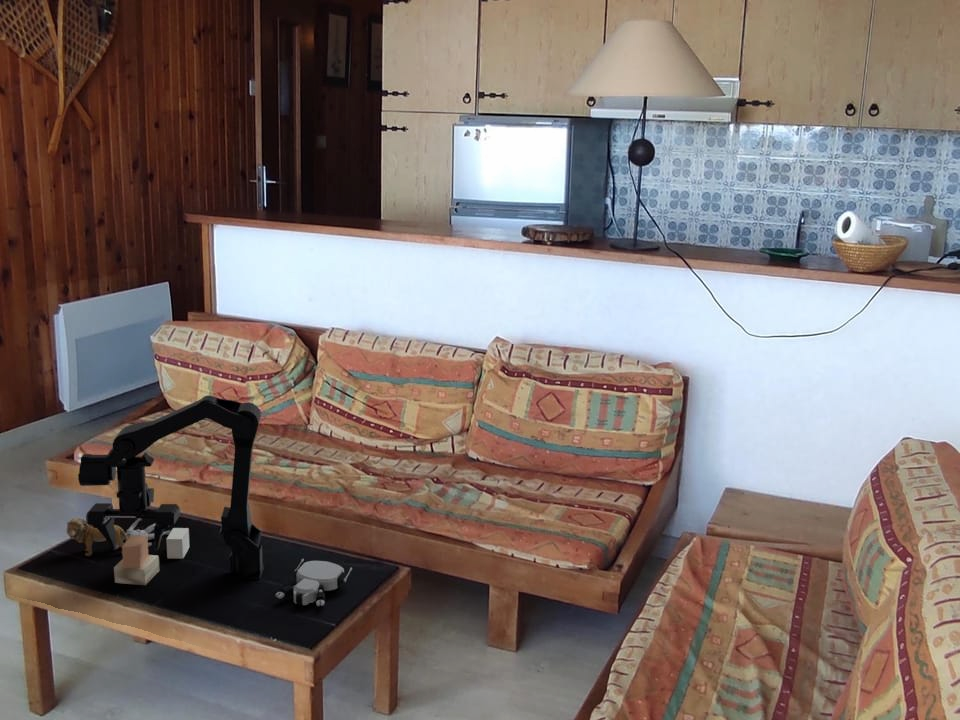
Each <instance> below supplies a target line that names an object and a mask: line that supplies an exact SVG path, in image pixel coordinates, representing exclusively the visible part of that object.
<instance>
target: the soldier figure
mask: <svg viewBox="0 0 960 720" xmlns="http://www.w3.org/2000/svg"><path fill="white" fill-rule="evenodd" d="M140 521H142V518H136V519H135V521H134V522H133V523H132V524H131V525H130V527H128V529H126V531H125V534H126V536H127V539H128V538H129V537H130V536H131V535H147V538H148V541H150V540H154V532H153V531H154V526H155V525H156V523H153V524H151V525H148V526H147V527H146V528H145V529H141V530H140V528H138V529H135V528H136V526H137V525H138V523H139V522H140ZM152 532H153V533H152ZM170 532H171V530H170V529H169V530H166V531H164V532H163V536H164V535H169V534H170ZM120 538H121V540H122V542H123V541H125V539H124V537H123V535H122V534H121V536H120ZM152 545H153V544H152V542H148V547H150V546H152Z"/></svg>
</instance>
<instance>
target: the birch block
mask: <svg viewBox="0 0 960 720" xmlns="http://www.w3.org/2000/svg"><path fill="white" fill-rule="evenodd" d="M159 572H160V557H159V555H157V554H156V555H155V554H154V555H153V554H148V557H147V559H146V560H145V562H144V563H143V565H142V566H141V568H123V558H122V559H121V560H120V561H119V562H118V563H117V564H116V565H115V566H114V567H113V573H114V583H116V584H123V585H124V584H127V585H136V586H137V585H138V586H146V585H147V584H149V582H150V581H151V580H152V579H153V578H154V577H155V576H156V575H157V574H158V573H159Z"/></svg>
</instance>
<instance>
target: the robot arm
mask: <svg viewBox="0 0 960 720" xmlns="http://www.w3.org/2000/svg"><path fill="white" fill-rule="evenodd" d="M261 412H262V411H261V409H260V408H259V407H258V405H256V404H254V403H252V402H240V401H237V400H232V399H225V398H219V397H217V396H214V395H210V394H209V395H204V396H203V397H202V398H200V399H199V400H196V401H194V402H192V403H190V404H187V405H185V406H183V407H180V408H178V409H176V410H174V411H172V412H169V413H167V414H165V415H163V416H161V417H158V418H156V419H154V420H151V421H144V422H142V421H141V422H138V423H133V424H130V425H127V426H124V427H123V428H121V430H119V432H118V433H117V435H116V437H114V440H113V442H112V448H111V449H110V450H109V452H108V453H107V454H91V453H84V454H82V455H81V457H80V464H79V467H78V468H79V472H78V474H77V477H78V484H79V485H80V486H81V487H82V486H83V487H86V486H87V487H90V486H91V487H92V486H94V487H95V486H97V487H98V486H110V484H111V481H115V480H116V479H117V492H116V498H117V499H118V508H114V506H113V504H112V503H111V502H110V503H109V502H108V503H107V502H105V503H103V502H102V503H101V502H100V503H99V502H96V503H95V504H93V506H91V508H90V509H89V511H87V512H86V516H85V521H86V523H87V524H88V525H93V528H97V529H98V530H99V531H100V532H101V533H102V535H103V536H104V537H105V539H106V540H105V541H106V542H107V543H108V545H109V547H110V548H111V549H112V551H116V550H117V549H116V536H115V529H114V525H115V519H138V518H141V519H154V522H155V524H156V525H155V526H154V529H153V531H154V532H153V533H154V539H153V540H154V542H153V543H154V544H153V545H154V550H155V551H156V552H157V551H158V550H159V548H160V546H161V542H162V538H163V536H164V535H163V532H165V530H166V529H168V528H170V526H174V525H175V524H176V522H177V521H178V519H179V518H180V515H181V509H180V506H179V505H178V504H177V503H161V504H160V505H159V507H158V508H157V509H154V508H153V509H150V508H149V507H150V506H151V505H152V503H154V501H155V499H154V498H155V497H154V496H155V487H154V488H153V487H148V483H146V467H147V468H151V467H152V465H153V463H154V461H155V458H154V457H152V456H150V455H149V454H148V453H147V452H144V451H146V450H147V449H148V448H150V447H151V446H152V445H153V444H154V443H156V442H158V441H160V440H161V439H162V438H166V437H167V436H169V435H173V434H174V433H176V432H179V431H180V430H183V429H185V428H188V427H190V426H191V425H194V424H197V423H199V422H200V421H202V420H205V419H208V420H211V421H213V422H215V423H217V424H219V425H220V426H222V427H224V428H227V429H230V430H231V434H232V435H231V436H232V441H233V445H234V456H233V457H234V459H233V470H232V484H231V496H230V507H228V506H224V507H223V510H222V513H221V516H220V522H221V523H220V524H221V527H220V531H219V535H220V536H221V535H222V536H221V537H222V540H223V543H225V544H226V545H227V546H229V548H230V550H231V553H230V554H229V557H228V559H229V573H230V579H231V580H259V579H261V577H262V574H263V571H264V568H265V564H264V563H263V545H262V544H260V541H261V538H262V530H261V529H259V528H258V527H257V526H255V525H254V524H253V523H252V522H253V521H252V513H251V508H250V504H249V499H250V485H251V474H252V473H251V472H252V460H253V459H252V458H253V448H254V447H253V446H254V443H255V439H256V437H257V436H256V435H257V432H258V428H259V424H260V422H261V417H262V413H261ZM141 453H143V454H142V455H141V456H139V455H140V454H141ZM116 475H117V476H116ZM116 477H117V478H116ZM148 508H149V509H148Z"/></svg>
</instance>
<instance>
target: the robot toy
mask: <svg viewBox="0 0 960 720" xmlns="http://www.w3.org/2000/svg"><path fill="white" fill-rule="evenodd" d="M302 563H303V564H302ZM352 570H353V567H350V568H349V571H348V573H347V574H346V572H345V569H344V568H343V567H342V565H339V564H336V563H333V562H330V561H325V560H310V561H309V560H308V561H306V562H304V558H302V559H301V561H300V563H299V564H298V566H297V568H296V569H295V570H294V578H295V579H296V583H295V585H293V586H292V585H286V586H284V587H282V588H280V591H278V592H276V593H275V597H276V598H278V599H283V598H285V599H287V598H289V597H291V596H292V595H293V603H294V604H295V605H297V604H298V605H302V606H308V605H309V603H313V604H314V602H315V604H316V606H317V607H320V606H325V603H326V602H325V601H326V593H324V592H326V591H327V592H328V591H329V592H331V591H334V590H336V589H338V587H341V586H342V585H343V584H344V583H346V582H347V579H348V576H350V573H351V572H352Z"/></svg>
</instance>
